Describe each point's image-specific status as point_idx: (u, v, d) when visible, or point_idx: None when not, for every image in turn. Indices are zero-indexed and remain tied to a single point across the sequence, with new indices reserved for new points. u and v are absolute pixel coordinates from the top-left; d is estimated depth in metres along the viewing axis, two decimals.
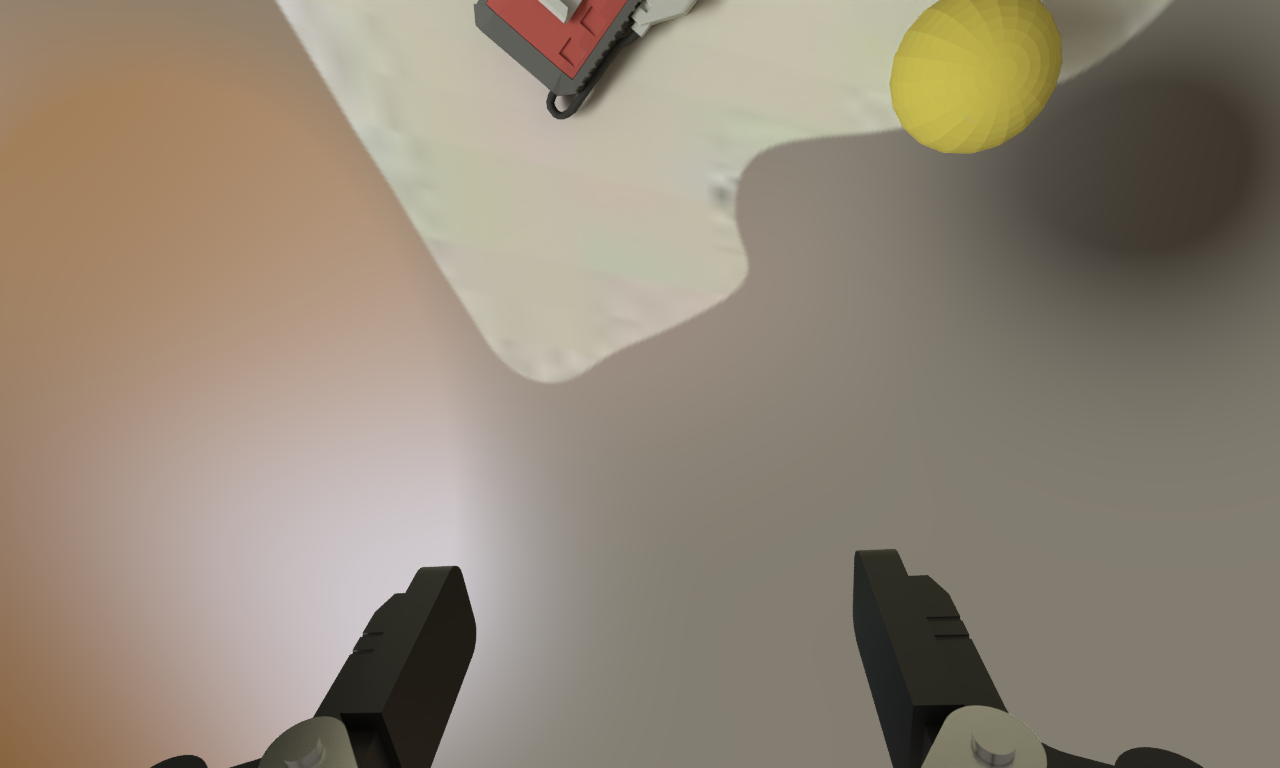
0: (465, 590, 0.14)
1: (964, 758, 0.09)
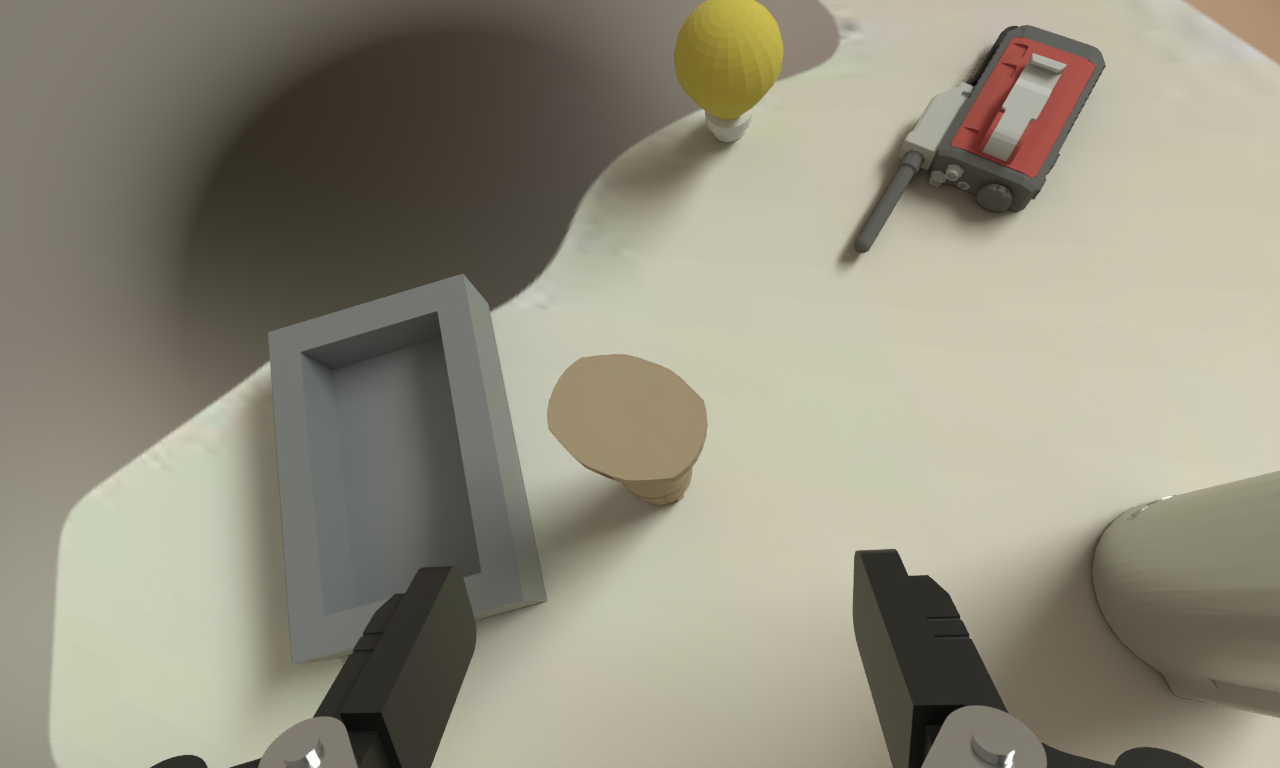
0: (465, 590, 0.14)
1: (964, 758, 0.09)
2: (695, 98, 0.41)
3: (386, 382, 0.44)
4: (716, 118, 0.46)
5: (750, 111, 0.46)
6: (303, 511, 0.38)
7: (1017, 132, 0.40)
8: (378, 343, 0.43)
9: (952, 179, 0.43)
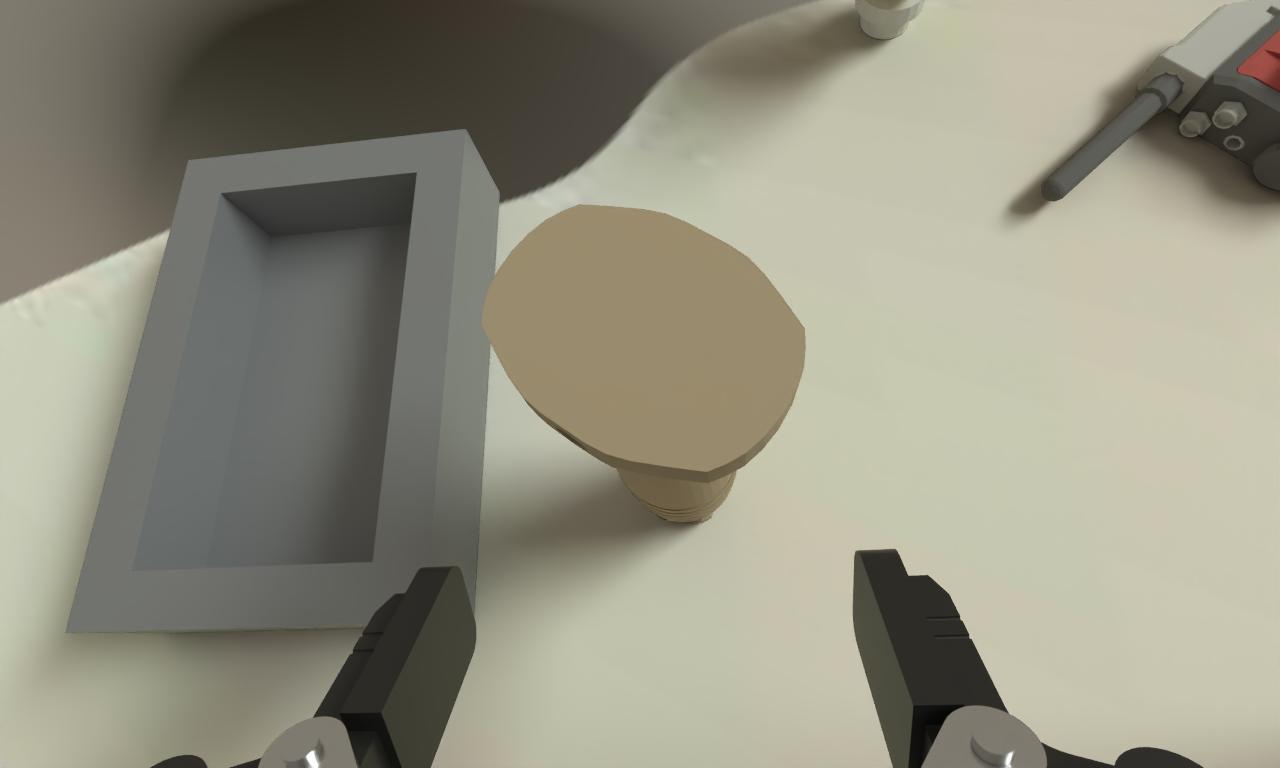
0: (465, 590, 0.14)
1: (964, 758, 0.09)
2: None
3: (335, 266, 0.32)
4: None
5: None
6: (154, 410, 0.26)
7: None
8: (333, 208, 0.31)
9: (1222, 126, 0.28)
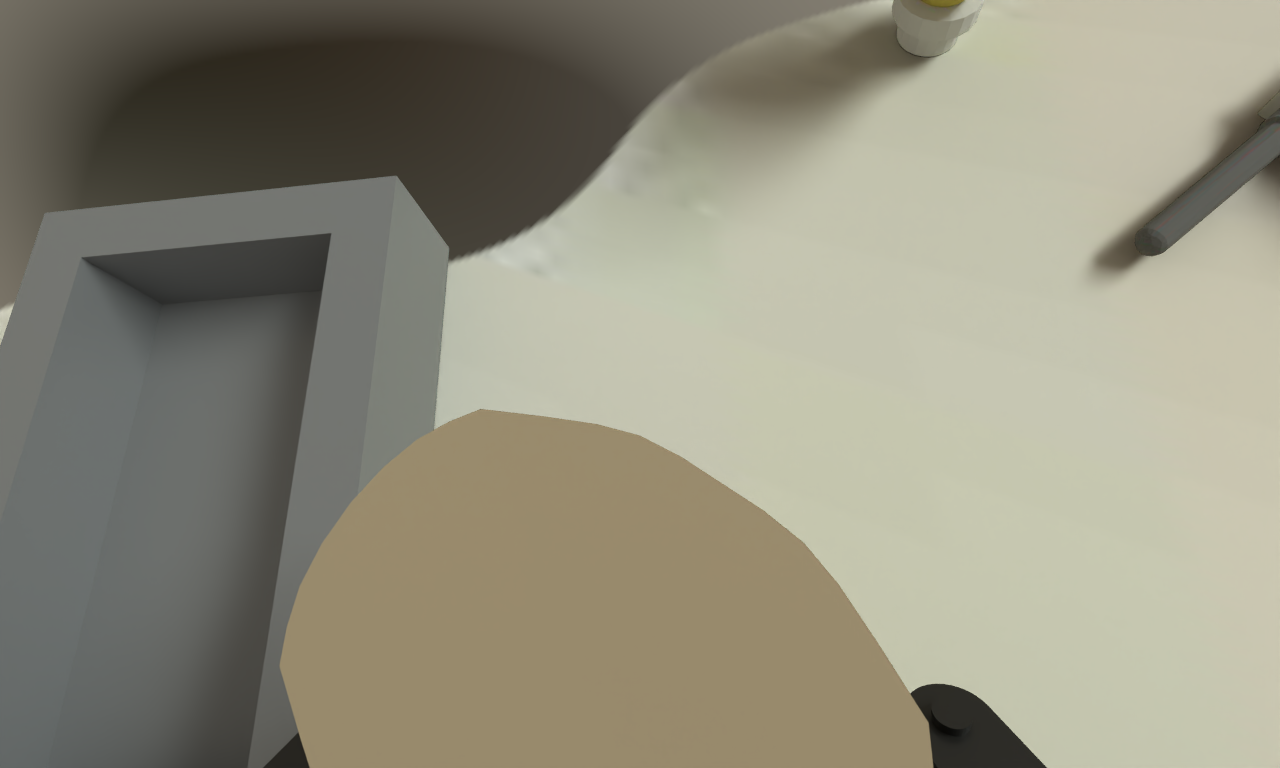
0: None
1: None
2: None
3: (238, 344, 0.25)
4: (916, 1, 0.25)
5: None
6: None
7: None
8: (232, 273, 0.24)
9: None
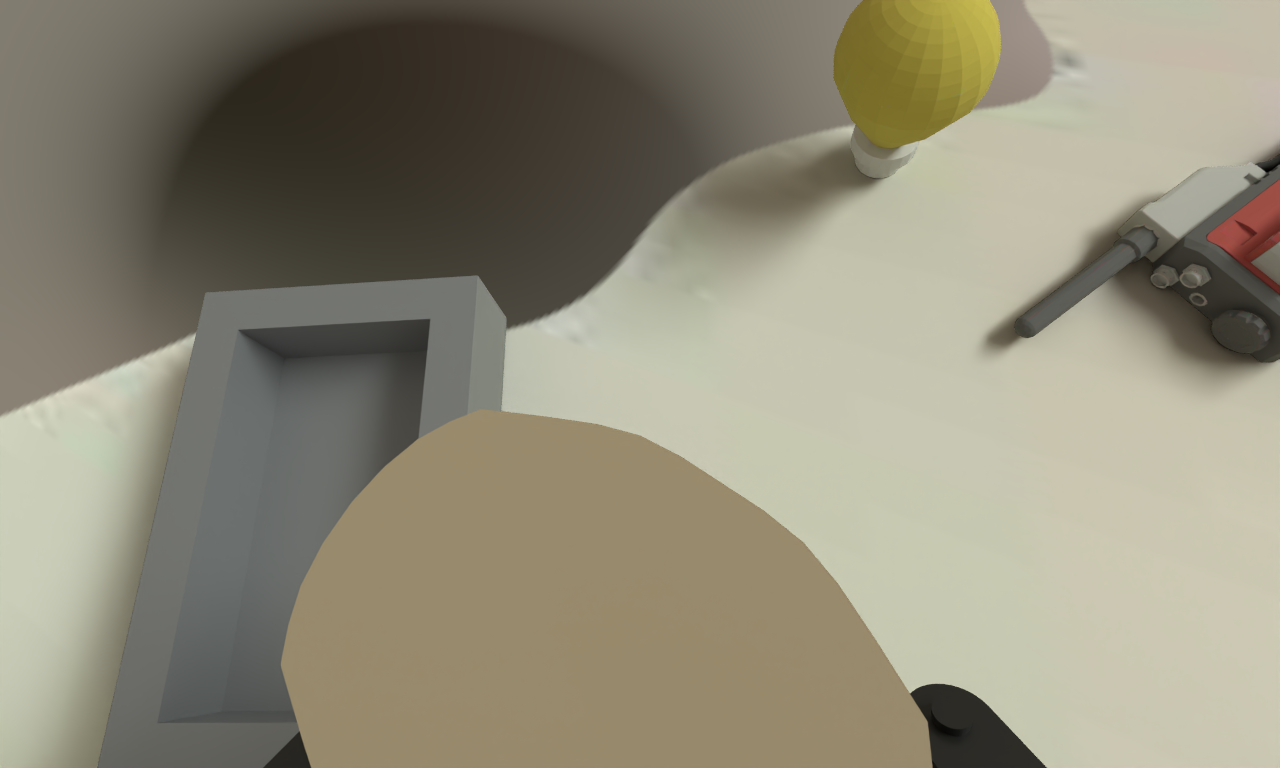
0: None
1: None
2: (854, 107, 0.29)
3: (347, 392, 0.33)
4: (867, 142, 0.33)
5: (916, 143, 0.33)
6: (176, 557, 0.27)
7: None
8: (347, 340, 0.32)
9: (1187, 285, 0.30)
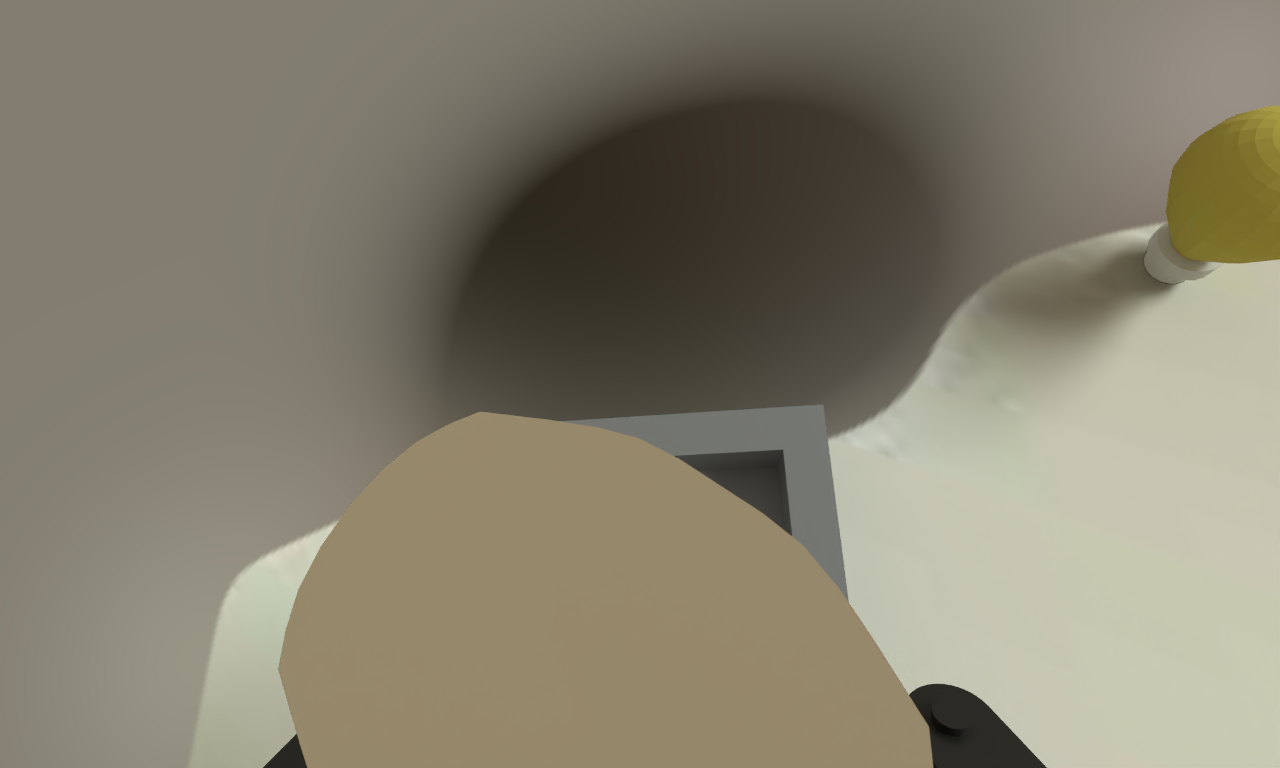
0: None
1: None
2: (1203, 235, 0.29)
3: None
4: (1175, 254, 0.34)
5: None
6: None
7: None
8: None
9: None
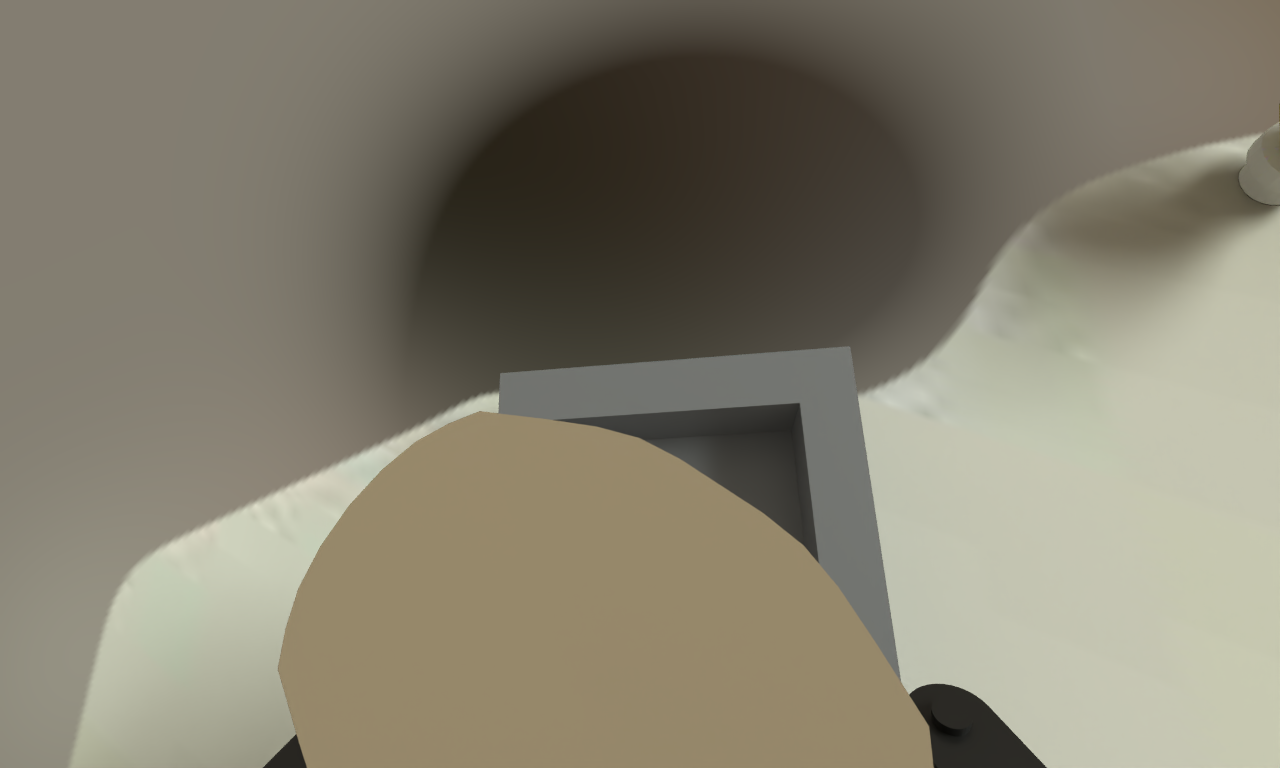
0: None
1: None
2: None
3: None
4: None
5: None
6: None
7: None
8: (668, 426, 0.26)
9: None
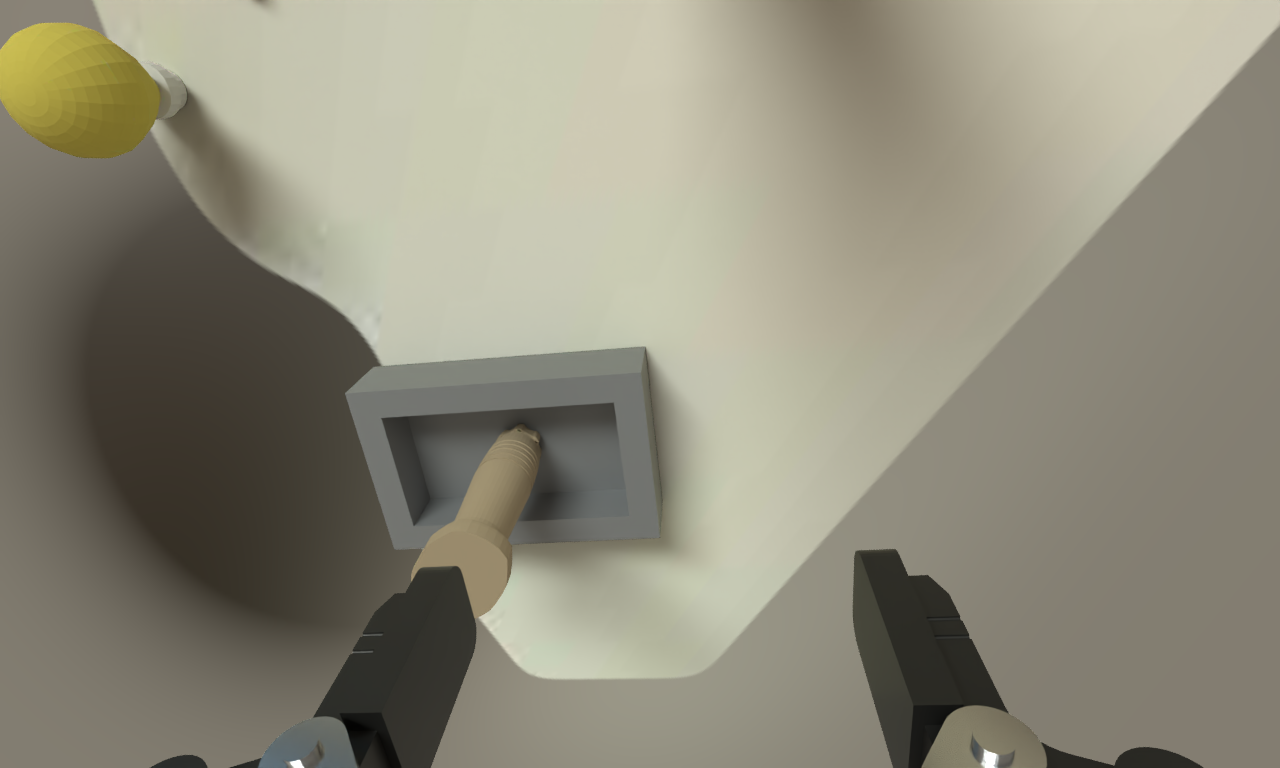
0: (465, 590, 0.14)
1: (964, 758, 0.09)
2: (140, 140, 0.37)
3: (444, 458, 0.51)
4: (158, 108, 0.40)
5: (147, 65, 0.40)
6: (547, 527, 0.49)
7: None
8: (408, 464, 0.49)
9: None
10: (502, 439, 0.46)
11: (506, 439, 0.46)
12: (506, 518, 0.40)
